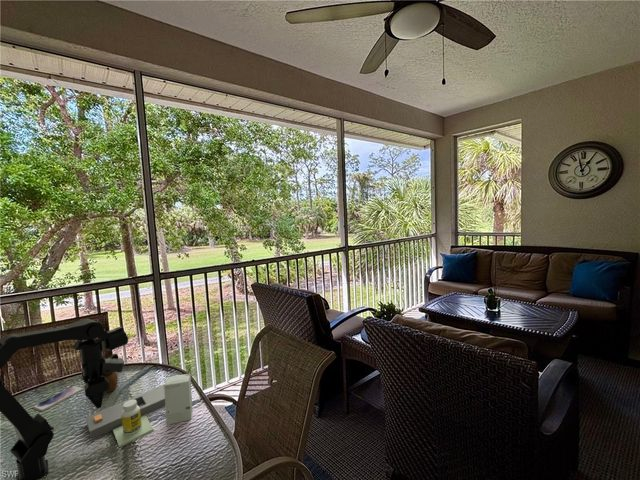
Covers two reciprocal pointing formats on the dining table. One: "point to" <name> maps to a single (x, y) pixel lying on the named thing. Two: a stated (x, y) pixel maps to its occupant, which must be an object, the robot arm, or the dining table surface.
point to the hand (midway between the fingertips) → (97, 401)
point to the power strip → (112, 415)
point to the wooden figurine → (111, 380)
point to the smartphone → (57, 398)
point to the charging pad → (126, 439)
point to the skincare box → (178, 398)
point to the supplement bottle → (131, 417)
